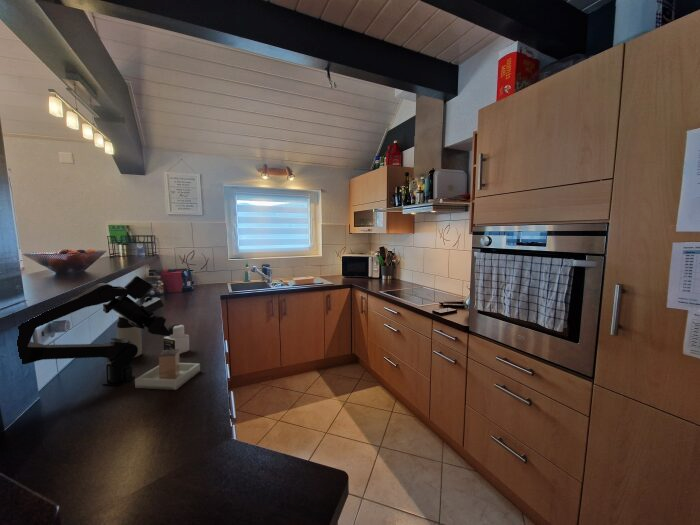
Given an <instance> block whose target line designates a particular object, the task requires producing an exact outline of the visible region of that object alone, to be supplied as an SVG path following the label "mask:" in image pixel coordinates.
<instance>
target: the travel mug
mask: <svg viewBox="0 0 700 525" xmlns="http://www.w3.org/2000/svg"><path fill="white" fill-rule="evenodd" d="M117 317H118V320H117V323H116V331H117V339H121V338H126V339H127V340H130V341H131V342H132V343H134V344H135V345H136V346H137V348H138V352H137V354H136V356H135V357H133V359H134V358H137V357H139V356H140V355H142V352H143V351H142V347H143V346H142V328H137V327H135V326H133V325H131V324H130V323H128V319H126V318H124V317H123V316H122V315H120V314H119V313H118V315H117Z"/></svg>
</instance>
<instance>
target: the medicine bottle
mask: <svg viewBox="0 0 700 525" xmlns="http://www.w3.org/2000/svg"><path fill="white" fill-rule="evenodd" d="M167 329H168V331H169V332H170V333H171V335H170V336H163V350H172V349H179V355H180V354H183V353H186V352H189V351H190V335H189V334H186V333H185V325H184V324H181V323H177V324H172V325H170V326H168V328H167Z"/></svg>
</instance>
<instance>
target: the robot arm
mask: <svg viewBox="0 0 700 525" xmlns="http://www.w3.org/2000/svg"><path fill="white" fill-rule="evenodd" d="M153 289H154V286H153V285H152V284H151V283H150V282H148V281H146V280H145V279H143V278H141V277H140V276H138V275H135V276H134V277H133V278H132V279H131V280H130V281H129V282H128V283H127V284H125V286H120V285H118V286H117V285H116V286H115V285H111V284H109V283H105V282H100V283H97V284H95V285H93V286H91V287H90V288H88V289H86V290H84V291H83V292H82V293H80V294H78V295H76V296H74V297H72V298H70V299H71V300H69V299H68V300H69V301H67V302H65V303H63V304H61V305H59V306H57V307H55V308H53V309H51V310H49V311H46V312H44V313H42V314H41V315H39V316H37V317H35V318H32V319H30V320H29V321H27V322H25V323H22V324H21V325H20V326H18V329H19V336H18V340H17V346H18V352H19V357H20V359H22V364H23V365H27V364H31V363H35V362H39V361H43V360H44V361H45V360H46V361H47V360H65V359H66V360H67V359H69V360H70V359H87V358H88V359H89V358H90V359H91V358H94V359H95V358H105V360H106V362H107V363H108V364H106V365H105V369H106V381H104V382H102V386H103V385H104V386H105V385H106V386H122V385H123V384H125V383H127V382H129V381H131V380H132V379H135V377H136V375H133V366H132V363H133V362H132V361H133V359H134V358H136V357H135V356H136V354H137V352H138V348H137V346H136V345H135V344H134V343H132V342H131V341H130V340H127V339H126V338H121V339H118V338H115V337H112V338H110V341H109V342H106V343H89V344H88V343H82V344H81V343H78V344H75V343H73V344H71V343H70V344H69V343H67V344H43V343H37V342H34V341H33V342H32V341H31V339H32V338H33V335H34V333H35V331H36V330H37V329H38V328H39V327H42V326H44V325H46V324H49V323H51V322H53V321H56V320H58V319H61V318H63V317H65V316H68V315H70V314H72V313H75V312H77V311H80V310H83V309H85V308H87V307H93V306H97V305H101V304H102V306H103V308H102V311H103V312H104V313H105V314H109V313H110V312H111V311H114V312H115V313H117V314H118V315H119V314H120V315H122V316H123V317H124V318H126V319H128V323H130V324H131V325H133V326H135V327H137V328H141V330H142V329H143V330H144V331H145V332H147V333H149V334H151V335H157V336H163V337H167V336H170V335H171V333H170V332H169V331H168V328H167V327H166V325H165V323H166V322H167V318H165V317H164V316H161V315H159V314H156V315H155V311H157V310H159V309H161V308H163V307H164V306H165V304H164V303H163V300H161V298H160V297H150V296H147V297H145V296H146V295H147V294H148V293H149V292H150V291H151V290H153ZM144 297H145V298H144ZM131 298H132V299H131ZM133 299H134V300H142V299H143V303H142V304H139V303H137V301H136V302H135V301H134V300H133ZM133 357H134V358H133Z"/></svg>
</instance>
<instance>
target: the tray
mask: <svg viewBox="0 0 700 525" xmlns="http://www.w3.org/2000/svg"><path fill="white" fill-rule="evenodd" d="M200 372H201V364H200V363H198V362H197V363H194V362H179V375H178V376H177V378H176V379H159V364H158V365H157V366H155V367H152V368H151V369H150V370H148V371H146V372H145V373H143V374H141V375H140V376H138V377H136V378H134V389H153V390H154V389H155V390H175V391H176V390H178V389H179V388H180V387H182V386H183V385H184V384H186V383H187V382H188V381H189V380H191V379H192V378H194V377H195V376H196V375H197V374H199V373H200Z"/></svg>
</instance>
